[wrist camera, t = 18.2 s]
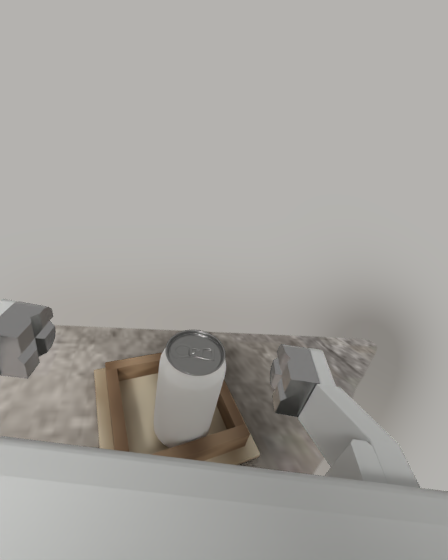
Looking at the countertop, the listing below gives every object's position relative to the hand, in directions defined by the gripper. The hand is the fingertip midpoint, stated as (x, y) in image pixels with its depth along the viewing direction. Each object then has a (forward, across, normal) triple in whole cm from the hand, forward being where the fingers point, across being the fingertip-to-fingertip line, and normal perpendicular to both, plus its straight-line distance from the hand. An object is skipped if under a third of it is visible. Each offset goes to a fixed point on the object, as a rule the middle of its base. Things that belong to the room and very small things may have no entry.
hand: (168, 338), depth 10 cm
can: (+12, -2, +24) cm, 27 cm away
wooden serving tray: (+13, 0, +25) cm, 28 cm away
